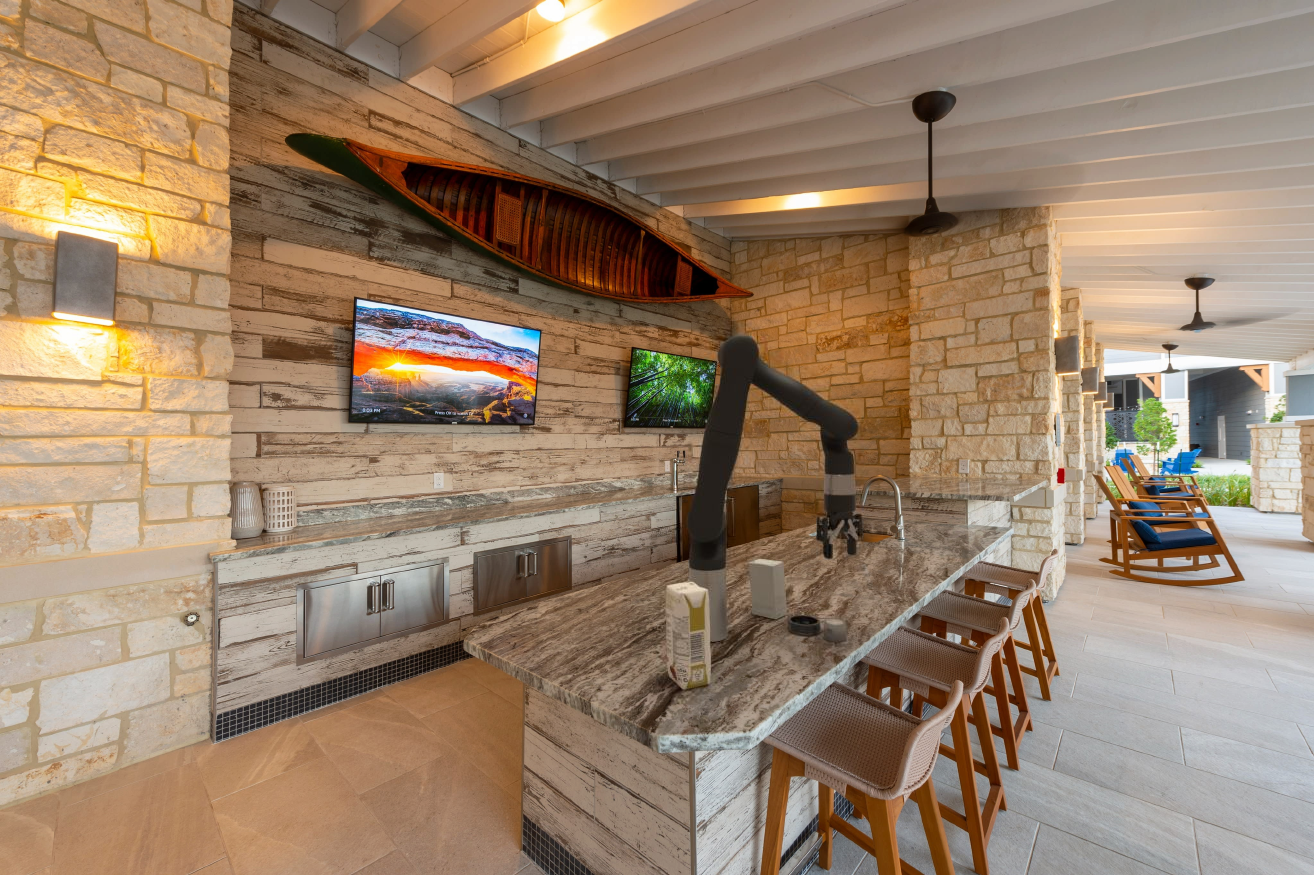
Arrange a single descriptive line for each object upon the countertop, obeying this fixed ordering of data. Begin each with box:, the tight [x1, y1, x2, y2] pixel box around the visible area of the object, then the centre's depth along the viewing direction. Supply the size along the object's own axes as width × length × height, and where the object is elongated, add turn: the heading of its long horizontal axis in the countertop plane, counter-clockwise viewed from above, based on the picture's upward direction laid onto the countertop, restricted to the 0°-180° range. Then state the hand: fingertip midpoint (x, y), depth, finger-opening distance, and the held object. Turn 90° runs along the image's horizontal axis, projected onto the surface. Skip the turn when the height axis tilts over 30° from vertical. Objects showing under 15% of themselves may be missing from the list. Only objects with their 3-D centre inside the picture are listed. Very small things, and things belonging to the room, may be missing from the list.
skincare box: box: [748, 558, 788, 620], centre depth 146 cm, size 8×6×15 cm
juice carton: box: [665, 581, 712, 690], centre depth 107 cm, size 8×9×19 cm
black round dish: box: [787, 614, 821, 637], centre depth 133 cm, size 8×8×3 cm
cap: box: [823, 618, 847, 644], centre depth 128 cm, size 6×5×4 cm
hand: (840, 556), depth 132 cm, fingers open, 8 cm apart
